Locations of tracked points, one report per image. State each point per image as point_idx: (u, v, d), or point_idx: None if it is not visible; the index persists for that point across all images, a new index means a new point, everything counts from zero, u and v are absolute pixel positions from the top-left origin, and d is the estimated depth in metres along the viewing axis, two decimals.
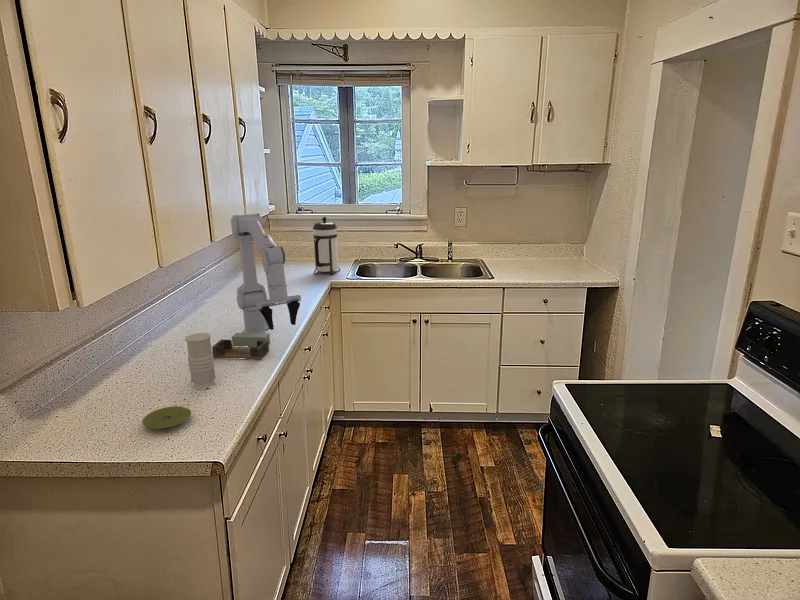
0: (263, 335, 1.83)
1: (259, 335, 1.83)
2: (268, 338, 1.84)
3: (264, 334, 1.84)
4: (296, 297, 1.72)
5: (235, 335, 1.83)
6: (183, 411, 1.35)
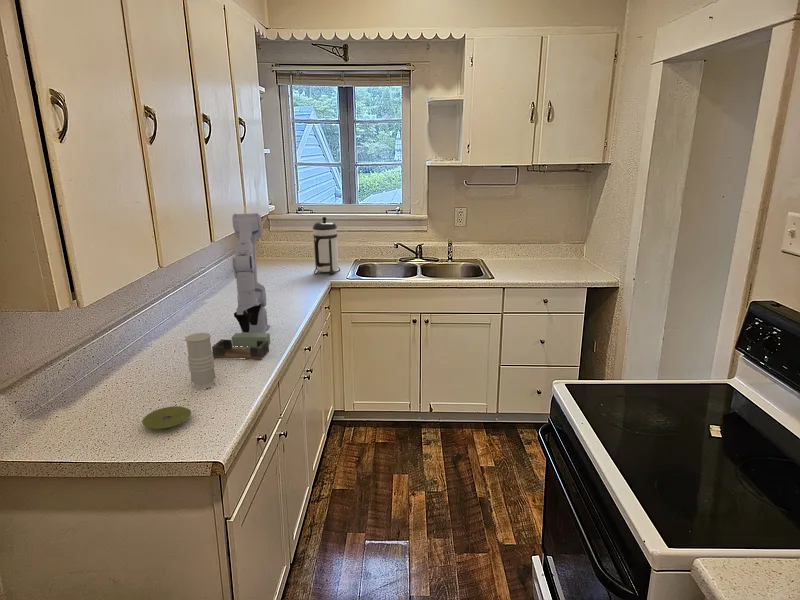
0: (264, 335, 1.83)
1: (259, 335, 1.83)
2: (268, 338, 1.84)
3: (264, 334, 1.84)
4: (256, 299, 1.86)
5: (235, 335, 1.83)
6: (183, 411, 1.35)
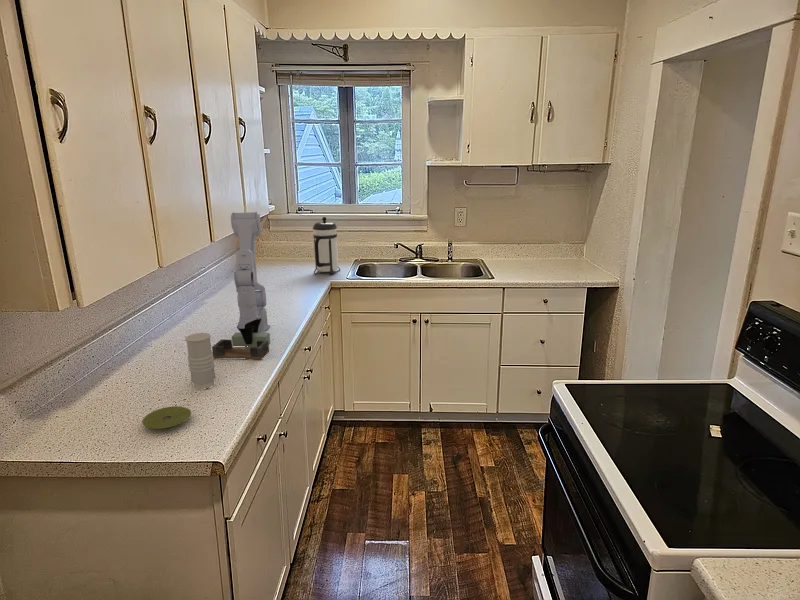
0: (264, 334, 1.83)
1: (259, 334, 1.83)
2: (268, 337, 1.84)
3: (264, 333, 1.84)
4: (258, 312, 1.87)
5: (235, 335, 1.83)
6: (183, 411, 1.35)
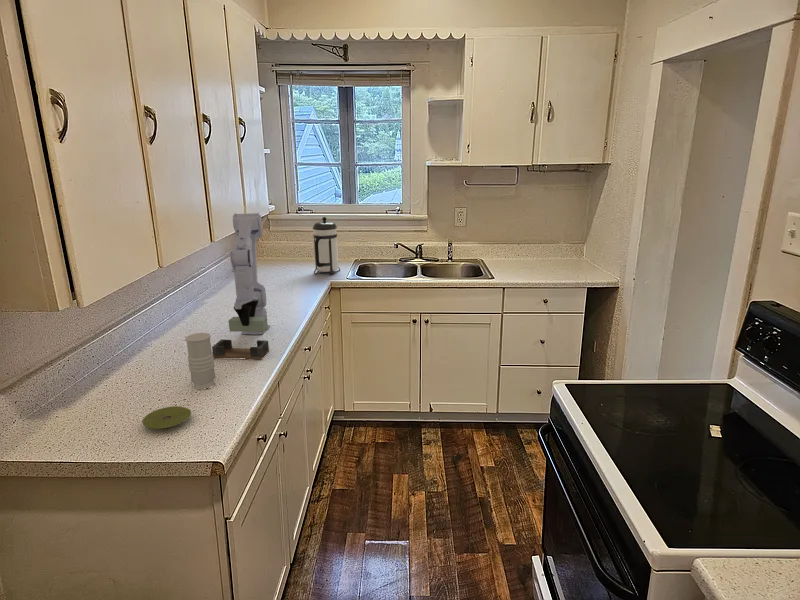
0: (261, 318, 1.80)
1: (256, 318, 1.80)
2: (265, 322, 1.81)
3: (261, 318, 1.81)
4: (255, 294, 1.84)
5: (232, 319, 1.81)
6: (183, 411, 1.35)
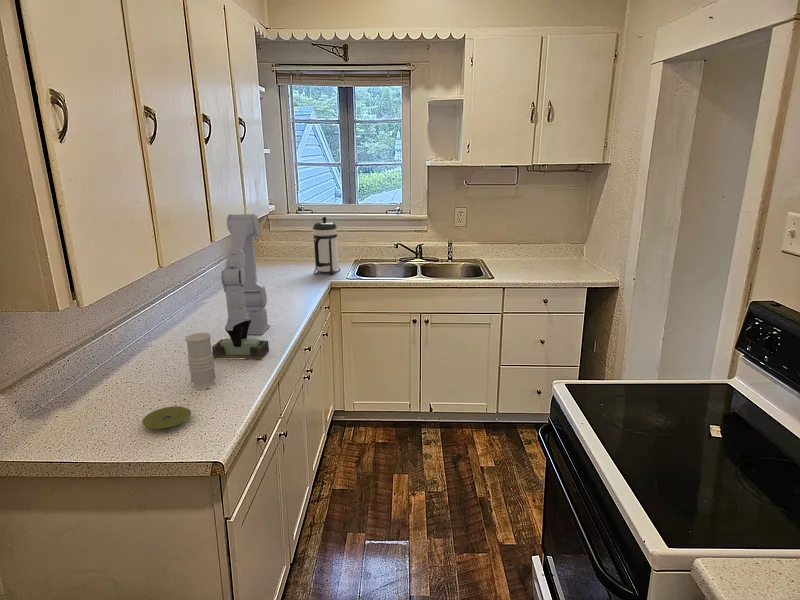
0: (253, 341, 1.74)
1: (249, 341, 1.74)
2: (258, 344, 1.75)
3: (254, 340, 1.75)
4: (247, 313, 1.78)
5: (224, 341, 1.75)
6: (183, 411, 1.35)
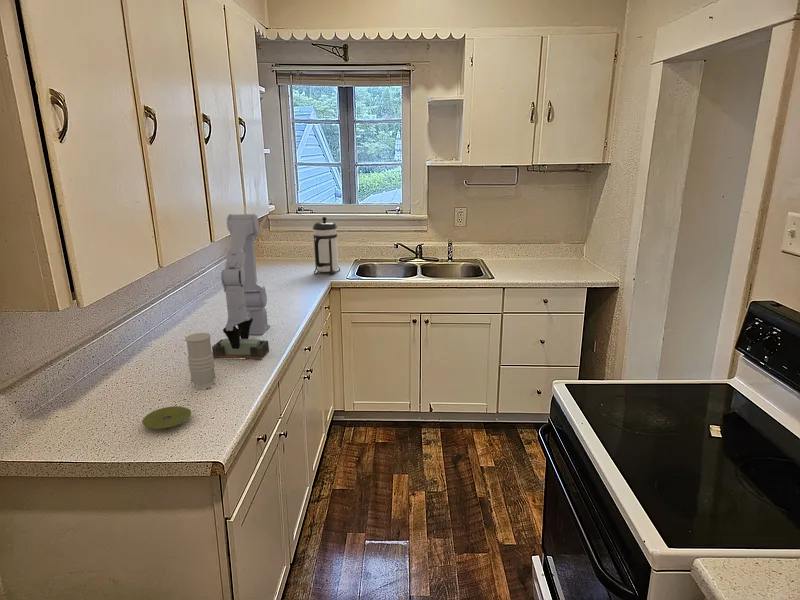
0: (254, 341, 1.74)
1: (249, 341, 1.74)
2: (258, 344, 1.75)
3: (254, 340, 1.75)
4: (247, 313, 1.78)
5: (224, 341, 1.75)
6: (183, 411, 1.35)
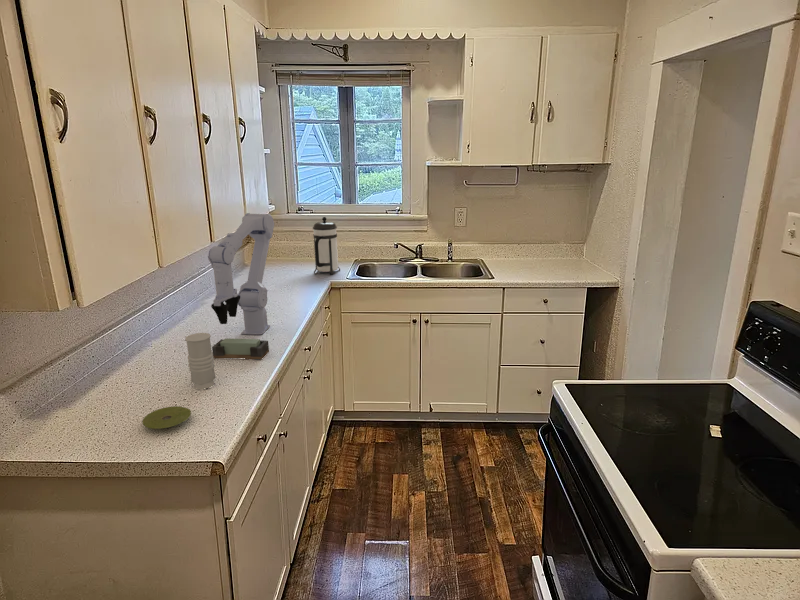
0: (254, 341, 1.74)
1: (249, 341, 1.74)
2: (258, 344, 1.75)
3: (254, 340, 1.75)
4: (235, 291, 1.84)
5: (224, 341, 1.75)
6: (183, 411, 1.35)
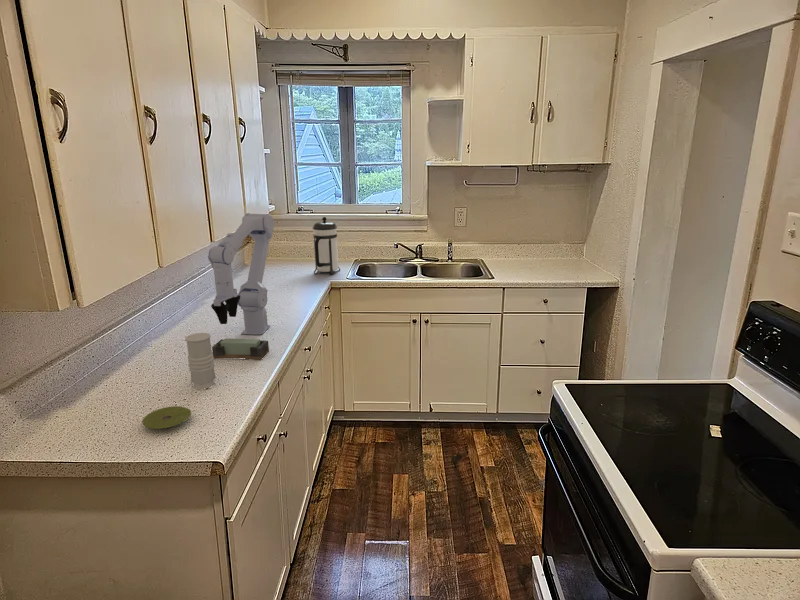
0: (254, 341, 1.74)
1: (249, 341, 1.74)
2: (258, 344, 1.75)
3: (254, 340, 1.75)
4: (235, 291, 1.84)
5: (224, 341, 1.75)
6: (183, 411, 1.35)
